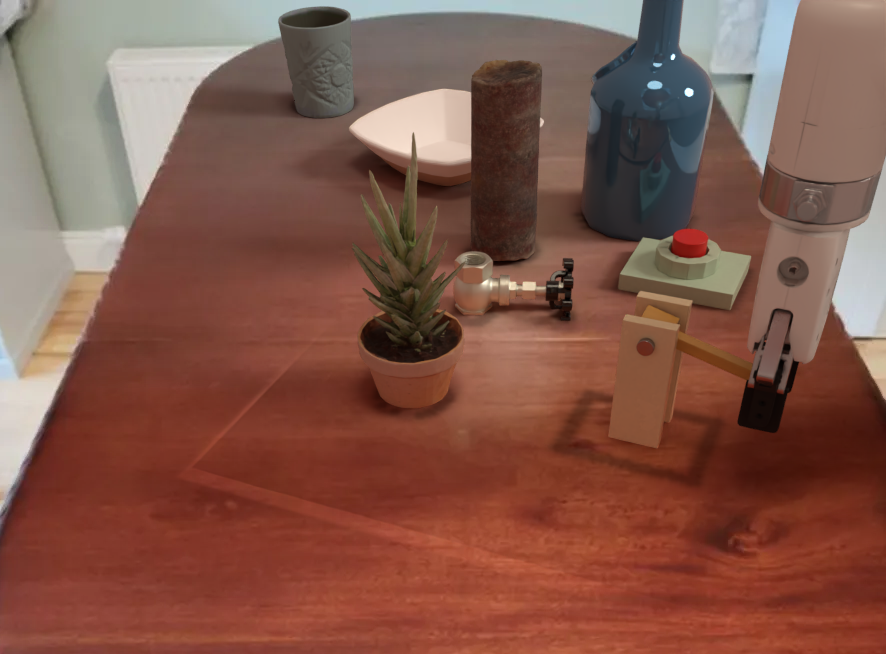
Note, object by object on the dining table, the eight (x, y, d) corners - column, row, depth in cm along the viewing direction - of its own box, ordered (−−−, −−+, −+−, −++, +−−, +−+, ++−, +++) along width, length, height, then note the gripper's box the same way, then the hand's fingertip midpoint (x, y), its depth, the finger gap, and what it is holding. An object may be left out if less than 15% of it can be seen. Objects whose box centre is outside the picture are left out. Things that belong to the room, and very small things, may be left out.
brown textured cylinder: (513, 277, 110) (520, 83, 96) (457, 261, 113) (455, 70, 99) (546, 248, 114) (557, 59, 100) (491, 234, 117) (494, 48, 103)
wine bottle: (712, 213, 120) (765, -84, 98) (659, 257, 112) (704, -54, 91) (612, 186, 126) (641, -100, 104) (556, 226, 118) (575, -73, 97)
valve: (451, 335, 102) (569, 337, 101) (450, 275, 97) (574, 276, 96) (455, 302, 106) (568, 304, 106) (454, 243, 102) (573, 244, 101)
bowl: (563, 160, 131) (565, 118, 128) (451, 216, 121) (450, 172, 117) (443, 120, 142) (442, 81, 138) (331, 168, 131) (326, 127, 128)
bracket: (717, 427, 90) (745, 297, 81) (692, 485, 84) (720, 353, 75) (589, 398, 94) (602, 271, 84) (558, 453, 88) (568, 322, 79)
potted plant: (387, 442, 90) (367, 165, 72) (348, 389, 96) (320, 121, 78) (486, 412, 92) (490, 138, 75) (442, 362, 98) (436, 98, 81)
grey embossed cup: (354, 119, 143) (347, 27, 135) (284, 120, 143) (272, 28, 135) (360, 94, 150) (353, 4, 142) (293, 95, 151) (282, 5, 142)
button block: (747, 274, 109) (754, 239, 106) (729, 314, 103) (736, 278, 101) (640, 255, 113) (645, 221, 110) (617, 292, 107) (621, 257, 104)
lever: (776, 379, 82) (790, 356, 80) (764, 412, 79) (778, 389, 77) (642, 320, 84) (652, 296, 82) (625, 350, 81) (635, 325, 79)
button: (709, 247, 106) (712, 231, 105) (700, 262, 104) (703, 246, 103) (675, 241, 107) (678, 226, 106) (667, 256, 105) (669, 240, 104)
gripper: (857, 251, 62) (792, 479, 75) (889, 147, 73) (828, 363, 86) (736, 232, 64) (693, 457, 78) (785, 134, 75) (740, 346, 88)
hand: (765, 405), depth 82 cm, fingers closed on lever, 5 cm apart
